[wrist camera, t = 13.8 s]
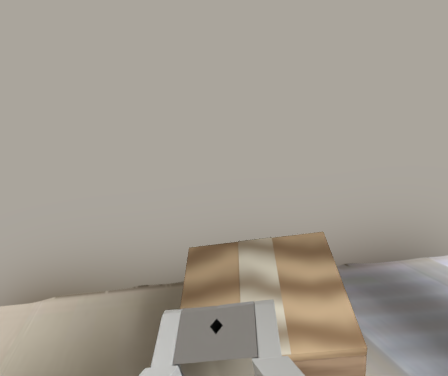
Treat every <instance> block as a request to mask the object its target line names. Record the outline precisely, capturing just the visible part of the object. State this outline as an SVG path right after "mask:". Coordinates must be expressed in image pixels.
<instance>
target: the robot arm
mask: <svg viewBox="0 0 448 376" xmlns="http://www.w3.org/2000/svg"><path fill="white" fill-rule="evenodd" d="M138 376H305V375H304V374H303V373H302V372H301V370H300V369H299V368H298V367H297V366H296V365H295V363H294V362H293V361H292V360H291V359H290V358H289V357H288V356H282V354H281V347H280V340H279V333H278V326H277V319H276V311H275V304H274V300H273V299H271V300H262V301H255V302H254V301H250V302H242V303H233V304H225V305H218V306H209V307H196V308H183V309H174V310H165V311H164V313H163V315H162V317H161V322H160V326H159V331H158V335H157V340H156V344H155V349H154V353H153V357H152V362H151V366H150V368H144V370H143V371H142V372H141V373H140V374H139V375H138Z"/></svg>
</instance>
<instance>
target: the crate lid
mask: <svg viewBox="0 0 448 376" xmlns="http://www.w3.org/2000/svg"><path fill="white" fill-rule="evenodd" d="M271 299H273V300H274V304H275V311H276V319H277V326H278V333H279V340H280V347H281V354H282V356H288V357H289V358H290V359H291V360H292V361H299V360H312V359H324V358H336V357H348V356H360V355H367V346H366V343H365V341H364V338H363V335H362V333H361V330H360V327H359V325H358V322H357V320H356V317H355V314H354V312H353V309H352V306H351V304H350V301H349V298H348V296H347V293H346V290H345V288H344V285H343V282H342V280H341V277H340V274H339V272H338V269H337V266H336V264H335V261H334V259H333V256H332V253H331V251H330V248H329V245H328V243H327V240H326V237H325V235H324V232H317V233H309V234H301V235H292V236H283V237H275V238H271V237H270V238H262V239H254V240H245V241H238V242H234V243H224V244H216V245H208V246H199V247H191V248H189V252H188V258H187V265H186V273H185V279H184V286H183V292H182V299H181V306H180V309H183V308H196V307H209V306H218V305H225V304H233V303H242V302H250V301H254V302H255V301H262V300H271Z"/></svg>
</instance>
